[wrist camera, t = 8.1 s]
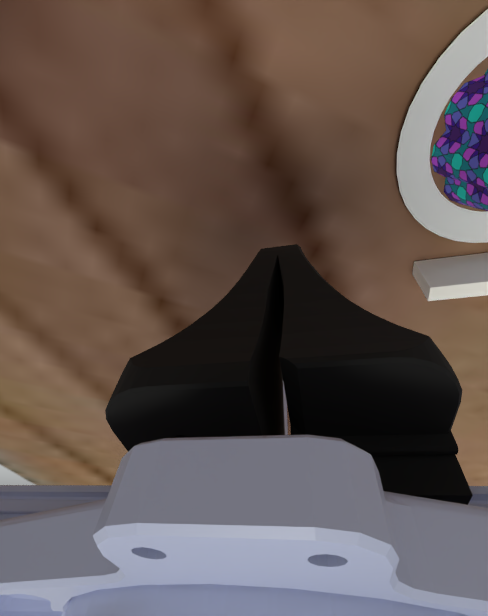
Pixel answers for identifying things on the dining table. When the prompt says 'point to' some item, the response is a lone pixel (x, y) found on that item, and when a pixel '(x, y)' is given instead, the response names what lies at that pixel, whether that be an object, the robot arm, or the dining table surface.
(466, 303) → the dining table surface
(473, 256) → the serving frame
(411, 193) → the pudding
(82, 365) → the dining table surface
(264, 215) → the dining table surface
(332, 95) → the dining table surface
